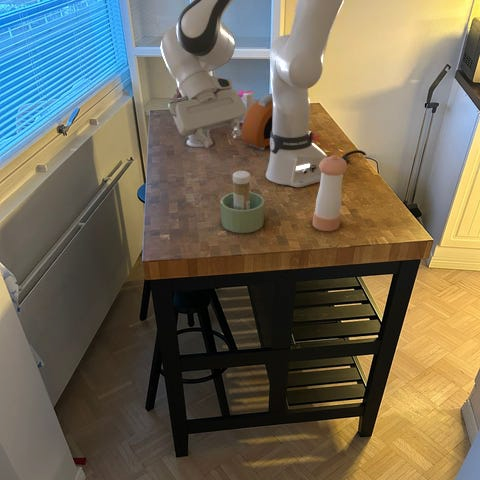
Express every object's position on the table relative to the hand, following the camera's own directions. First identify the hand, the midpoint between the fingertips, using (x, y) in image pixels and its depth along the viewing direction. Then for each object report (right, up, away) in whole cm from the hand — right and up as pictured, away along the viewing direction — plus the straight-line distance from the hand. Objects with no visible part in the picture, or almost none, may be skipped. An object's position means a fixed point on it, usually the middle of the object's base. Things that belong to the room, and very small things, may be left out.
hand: (224, 141), depth 122 cm
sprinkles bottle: (+5, -19, +8) cm, 21 cm away
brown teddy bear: (-18, +33, +71) cm, 80 cm away
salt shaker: (+28, -20, +8) cm, 35 cm away
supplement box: (+6, +35, +73) cm, 81 cm away
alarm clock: (+16, +21, +55) cm, 61 cm away
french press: (-11, +21, +56) cm, 61 cm away
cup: (+5, -19, +9) cm, 21 cm away
